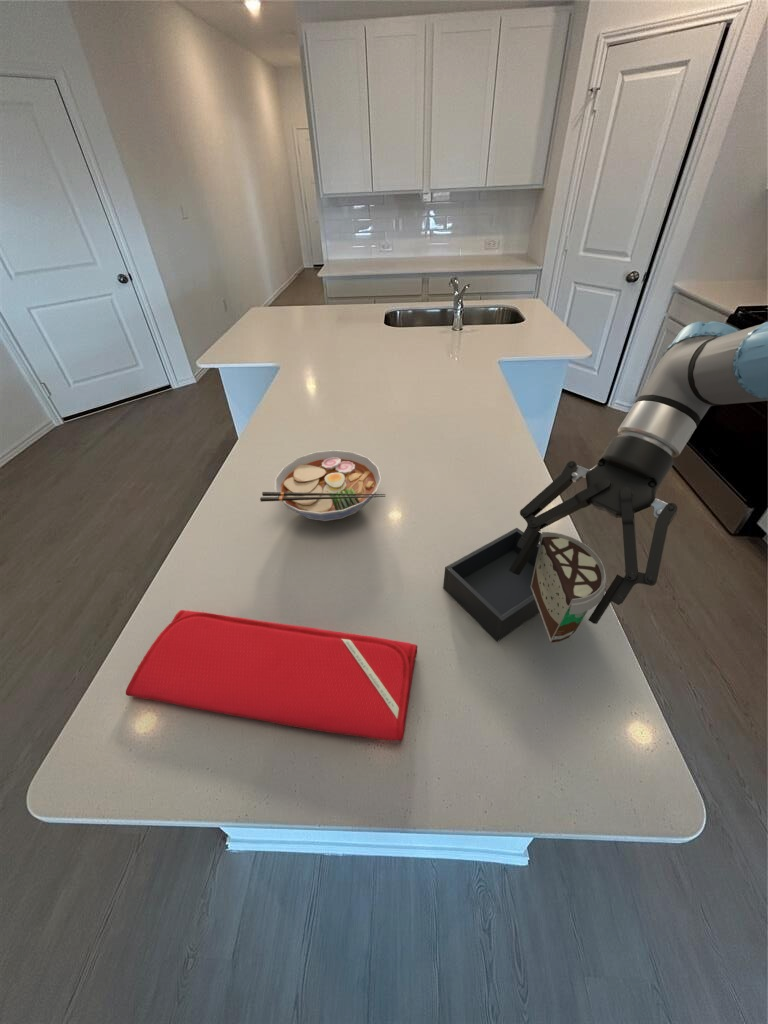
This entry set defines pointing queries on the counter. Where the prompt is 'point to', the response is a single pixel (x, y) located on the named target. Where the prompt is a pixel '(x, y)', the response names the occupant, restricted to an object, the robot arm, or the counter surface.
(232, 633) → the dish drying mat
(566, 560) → the halved ice cream tub
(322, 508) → the ramen bowl
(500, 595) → the bin
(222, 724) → the counter surface
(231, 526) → the counter surface
